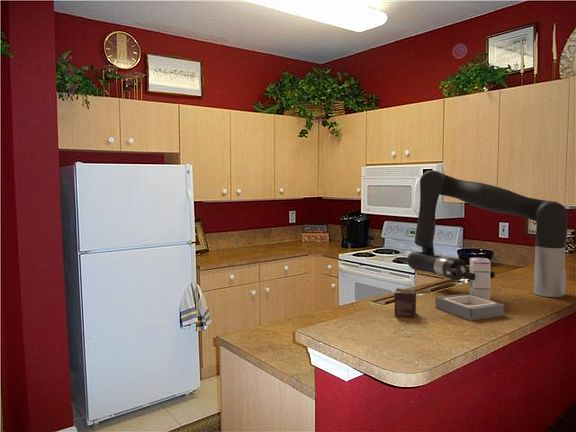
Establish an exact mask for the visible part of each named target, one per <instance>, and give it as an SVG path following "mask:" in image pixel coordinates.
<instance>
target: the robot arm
mask: <svg viewBox="0 0 576 432" xmlns="http://www.w3.org/2000/svg"><path fill="white" fill-rule="evenodd" d="M419 192H420V193H419V198H420V199H419V209H418V210H419V211H418V216H417V217H418V219H417V223H416V230H415V234H414V235H415V237H414V245H416V246H418V247H421V250H422V251H413V252H410V254H409V255H408V256H407V259H406V262H407V265H408V267H409V268H410V269H412V270H415V271H421V272H428V273H431V274H434V275H437V276H441V277H444V278H447V279H450V280H454V281H461V280H462V279H463V280H465V279H466V280H469V281H470V280H475V274H474V273H470V264H469V265H467V264H466V262H465V261H464V260H462V259H459V258H454V257H450V256H441V255H436V254H435V249H434V239H435V238H434V237H435V232H436V222H437V221H436V218H437V217H436V215H437V214H436V213H437V205H438V200H439V197H440V196H444V197H450V198H454V199H458V201H459V200H460V201H461V202H464V203H466V204H469V205H470V206H474V207H476V208H479V209H483V210H487V211H490V212H493V213H494V212H495V213H498V214H499V213H500V214H507V215H512V216H513V215H514V216H518V217H523V218H526V219H529V220H532V221H534V222H536V227H535V228H536V231H535V245H534V246H535V247H534V248H535V249H534V250H535V251H534V254H535V255H534V273H533V274H534V275H533V276H534V277H533V279H534V281H533V294H534V295H537V296H541V297H547V298H562V297H565V296H566V286H567V284H566V283H567V268H566V246H567V245H566V243H567V238H568V235H567V234H568V214H569V213H568V210H567V209H566V207H565V206H564V205H563V204H561V203H560V202H558V201H553V200H552V201H551V200H545V199H538V198H533V197H528V196H524V195H521V194H519V193H517V192H514V191H512V190H510V189H509V190H508V189H506V188H502V187H500V186H495V185H493V184H488V183H483V182H477V181H469V180H463V179H459V178H455V177H452V176H451V175H446V173H443V172H441V171H437V170H427V171H426V172H424V173H423V174H422V175H421V176H420V179H419ZM495 275H496V273H495V271H492V270H490V279H495V277H496V276H495Z"/></svg>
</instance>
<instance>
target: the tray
mask: <svg viewBox="0 0 576 432" xmlns="http://www.w3.org/2000/svg"><path fill="white" fill-rule="evenodd" d="M505 306H506V304H504V303H501V302H498V301H494V300H491V299H490V300H488V299H484V298H481V297H478V296H474V295H471V294H469V293H462V294H460V293H459V294H453V295H451V294H450V295H443V296H436V297H435V308H436V309H438V310H441V311H444V312H446V313H449V314H452V315H453V316H454V315H455V316H457V317H460V318H462V319H465V320H468V321H470V322H472V321H478V320H479V321H480V320H484V319H491V318H492V319H493V318H498V317H505V313H506V312H505V308H506V307H505Z"/></svg>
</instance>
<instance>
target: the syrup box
mask: <svg viewBox="0 0 576 432" xmlns="http://www.w3.org/2000/svg"><path fill="white" fill-rule="evenodd" d="M469 265H470V273H474V274H475V280H469V292H468V294H471V295H474V296H478V297H481V298H484V299H488V300H491V278H490V271H491V260H490V259H488V258H485V257H470V258H469Z"/></svg>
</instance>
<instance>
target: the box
mask: <svg viewBox="0 0 576 432" xmlns="http://www.w3.org/2000/svg"><path fill="white" fill-rule="evenodd" d="M416 313H417V289H412V288H395V291H394V317H403V318H404V317H405V318H414V319H415V318H416Z"/></svg>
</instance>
